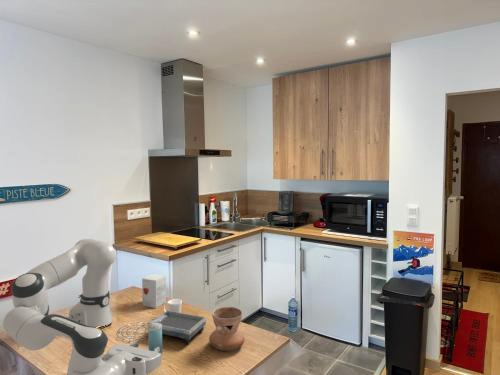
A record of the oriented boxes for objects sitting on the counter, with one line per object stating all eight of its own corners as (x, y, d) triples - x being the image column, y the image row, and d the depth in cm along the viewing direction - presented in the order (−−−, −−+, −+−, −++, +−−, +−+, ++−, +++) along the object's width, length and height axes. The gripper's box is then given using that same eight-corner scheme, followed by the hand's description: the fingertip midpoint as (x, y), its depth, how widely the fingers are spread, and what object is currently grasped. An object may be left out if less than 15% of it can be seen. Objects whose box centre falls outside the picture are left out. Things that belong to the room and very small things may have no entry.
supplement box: (141, 305, 183) (141, 278, 182) (152, 299, 192) (152, 273, 191) (156, 308, 180) (155, 280, 179) (166, 302, 188) (166, 275, 187)
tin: (145, 355, 136) (145, 327, 136) (154, 348, 141) (153, 322, 141) (157, 357, 135) (156, 330, 134) (165, 350, 139) (164, 324, 139)
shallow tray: (148, 337, 150) (148, 323, 149) (167, 323, 163) (167, 310, 162) (189, 346, 143) (189, 331, 142) (205, 331, 156) (205, 317, 155)
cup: (177, 321, 165) (177, 305, 165) (159, 318, 169) (159, 302, 168) (185, 315, 172) (185, 299, 171) (168, 312, 175) (167, 297, 175)
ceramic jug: (234, 360, 133) (234, 323, 132) (201, 351, 139) (201, 316, 138) (251, 339, 150) (252, 306, 149) (221, 332, 155) (222, 301, 154)
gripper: (98, 368, 123) (125, 348, 136) (146, 381, 116) (170, 359, 129) (98, 350, 123) (125, 333, 136) (146, 362, 116) (170, 343, 129)
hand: (147, 346), depth 132 cm, fingers open, 8 cm apart
